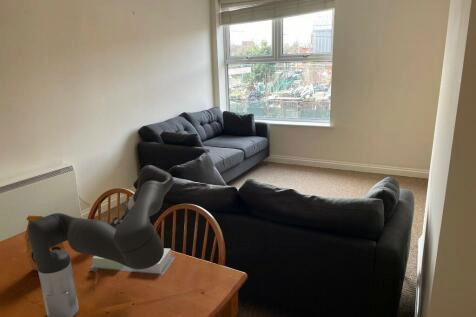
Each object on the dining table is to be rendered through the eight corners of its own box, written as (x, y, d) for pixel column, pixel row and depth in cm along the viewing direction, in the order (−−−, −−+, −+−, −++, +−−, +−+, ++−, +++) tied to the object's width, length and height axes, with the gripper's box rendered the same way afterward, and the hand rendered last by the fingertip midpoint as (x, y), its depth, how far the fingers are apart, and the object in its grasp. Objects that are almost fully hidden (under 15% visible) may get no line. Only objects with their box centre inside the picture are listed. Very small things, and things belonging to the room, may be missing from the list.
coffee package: (50, 278, 136) (40, 224, 130) (27, 271, 141) (16, 219, 135) (72, 264, 145) (63, 213, 139) (49, 258, 150) (40, 209, 144)
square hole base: (175, 260, 146) (174, 248, 144) (163, 278, 134) (162, 265, 133) (107, 254, 152) (105, 242, 150) (90, 270, 140) (88, 258, 139)
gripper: (125, 222, 118) (112, 243, 129) (161, 208, 128) (146, 229, 139) (114, 203, 120) (102, 226, 131) (151, 191, 130) (136, 213, 141)
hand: (125, 227), depth 135 cm, fingers open, 8 cm apart
